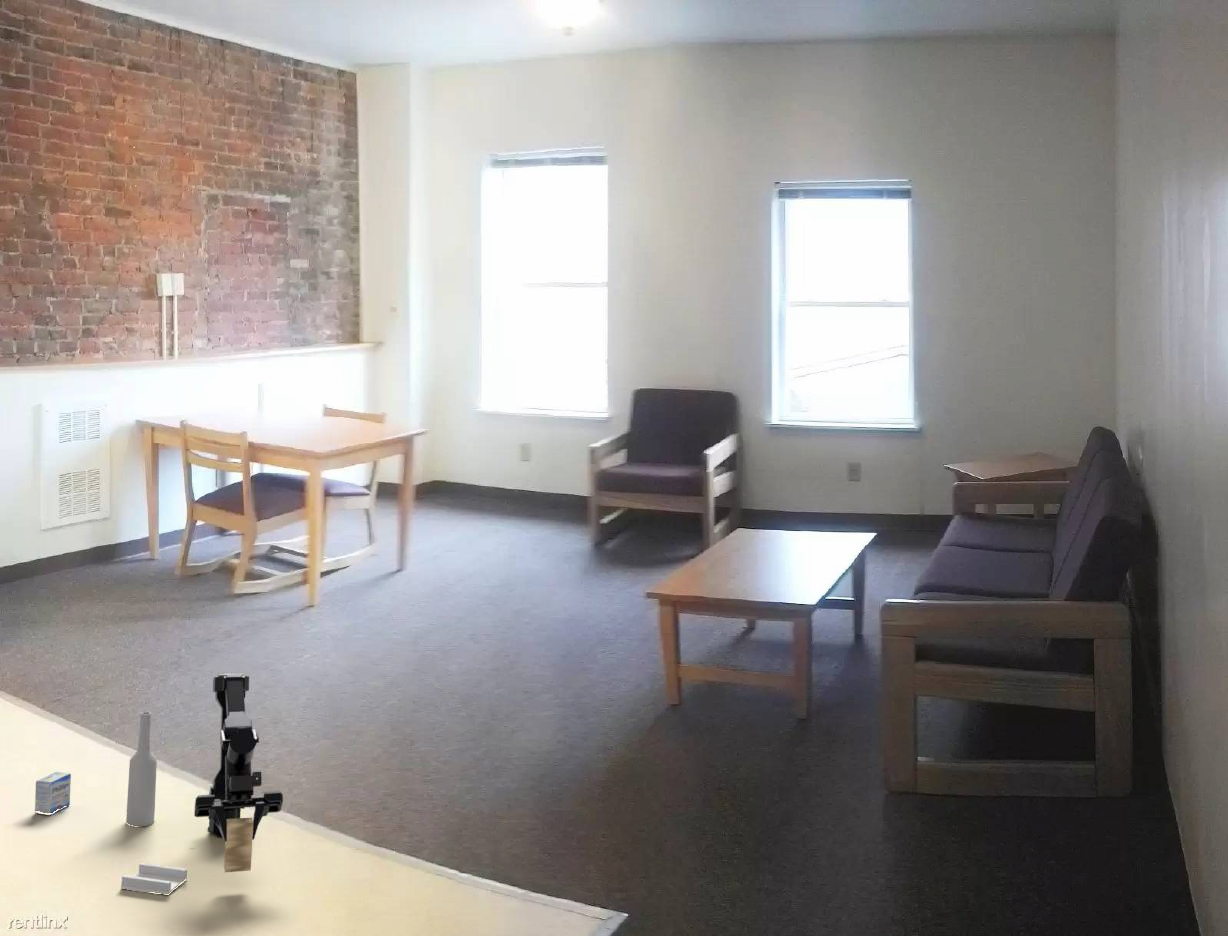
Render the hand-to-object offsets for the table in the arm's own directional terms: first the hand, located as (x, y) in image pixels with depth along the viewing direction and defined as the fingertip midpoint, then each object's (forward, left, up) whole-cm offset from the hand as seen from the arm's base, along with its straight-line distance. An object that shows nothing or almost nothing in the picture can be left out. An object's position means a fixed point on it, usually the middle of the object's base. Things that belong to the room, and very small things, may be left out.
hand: (239, 840), depth 262 cm
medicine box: (+17, -68, -12) cm, 72 cm away
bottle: (+2, -49, -12) cm, 51 cm away
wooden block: (-1, -1, -7) cm, 7 cm away
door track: (+13, -12, -12) cm, 22 cm away
